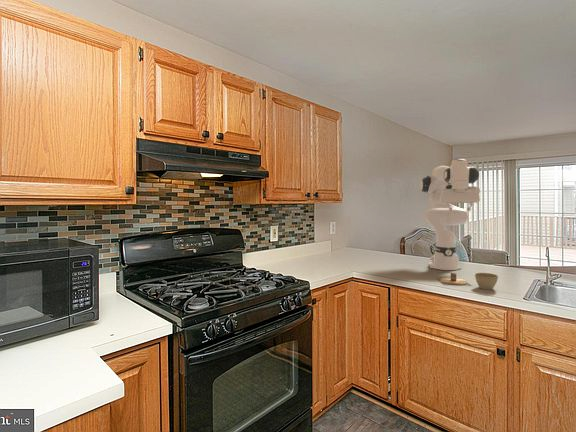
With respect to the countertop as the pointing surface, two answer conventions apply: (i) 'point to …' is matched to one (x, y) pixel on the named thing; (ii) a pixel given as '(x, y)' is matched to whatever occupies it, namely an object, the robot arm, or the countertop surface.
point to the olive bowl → (486, 280)
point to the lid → (453, 280)
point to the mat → (456, 285)
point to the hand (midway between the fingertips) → (459, 210)
